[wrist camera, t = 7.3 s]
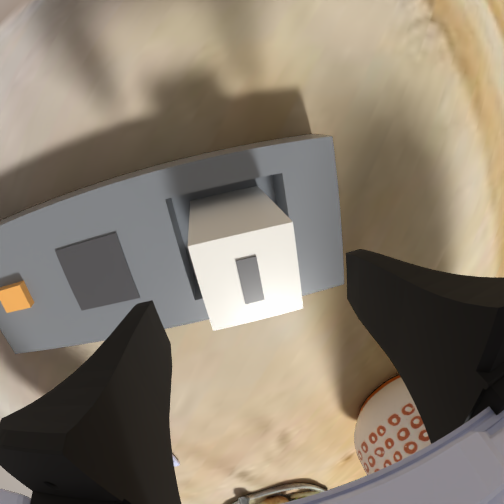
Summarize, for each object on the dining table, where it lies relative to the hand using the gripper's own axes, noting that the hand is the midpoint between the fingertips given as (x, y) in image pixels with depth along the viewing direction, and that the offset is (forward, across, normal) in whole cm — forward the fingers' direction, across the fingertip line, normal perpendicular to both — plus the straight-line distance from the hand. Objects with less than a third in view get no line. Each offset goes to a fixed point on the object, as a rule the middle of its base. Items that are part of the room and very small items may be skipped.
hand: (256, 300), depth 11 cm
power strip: (+9, +8, 0) cm, 12 cm away
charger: (+8, 0, 0) cm, 8 cm away
